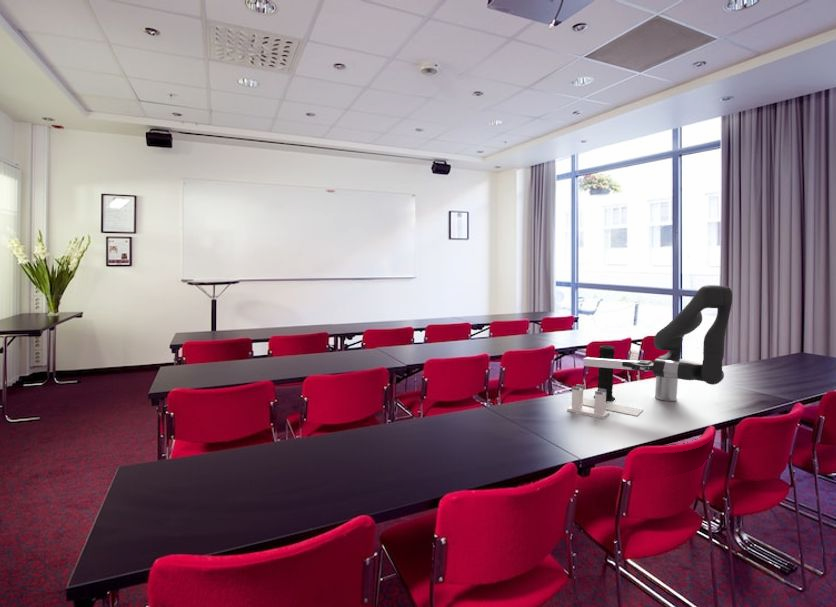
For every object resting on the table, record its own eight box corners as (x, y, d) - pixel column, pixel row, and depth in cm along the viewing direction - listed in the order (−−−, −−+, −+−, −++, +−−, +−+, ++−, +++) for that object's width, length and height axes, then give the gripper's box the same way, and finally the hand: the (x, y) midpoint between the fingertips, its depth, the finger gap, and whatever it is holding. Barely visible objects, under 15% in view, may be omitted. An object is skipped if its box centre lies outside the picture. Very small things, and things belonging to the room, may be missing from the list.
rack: (573, 406, 208) (574, 383, 207) (609, 414, 198) (610, 389, 197) (567, 410, 203) (568, 386, 202) (604, 419, 193) (605, 393, 192)
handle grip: (618, 401, 216) (611, 395, 226) (621, 347, 213) (614, 343, 223) (597, 401, 217) (591, 394, 227) (599, 346, 214) (593, 342, 224)
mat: (581, 398, 222) (581, 397, 222) (643, 410, 204) (643, 409, 204) (573, 403, 214) (573, 402, 214) (637, 416, 196) (637, 415, 196)
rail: (583, 365, 213) (583, 358, 213) (586, 364, 215) (585, 357, 215) (638, 370, 197) (638, 362, 197) (640, 368, 200) (640, 361, 200)
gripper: (670, 357, 197) (628, 352, 208) (663, 362, 186) (619, 357, 197) (669, 374, 198) (627, 368, 208) (662, 380, 187) (618, 374, 198)
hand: (624, 363), depth 203 cm, fingers closed on rail, 3 cm apart
